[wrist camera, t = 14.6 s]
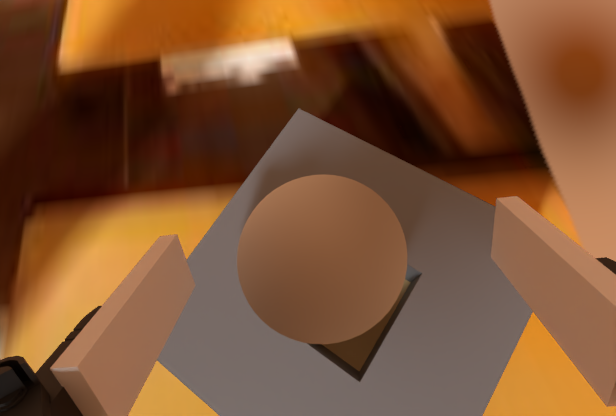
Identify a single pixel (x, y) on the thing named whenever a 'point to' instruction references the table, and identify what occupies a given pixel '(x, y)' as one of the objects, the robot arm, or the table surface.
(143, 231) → the table surface
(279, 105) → the table surface
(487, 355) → the socket block
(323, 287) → the birch peg
